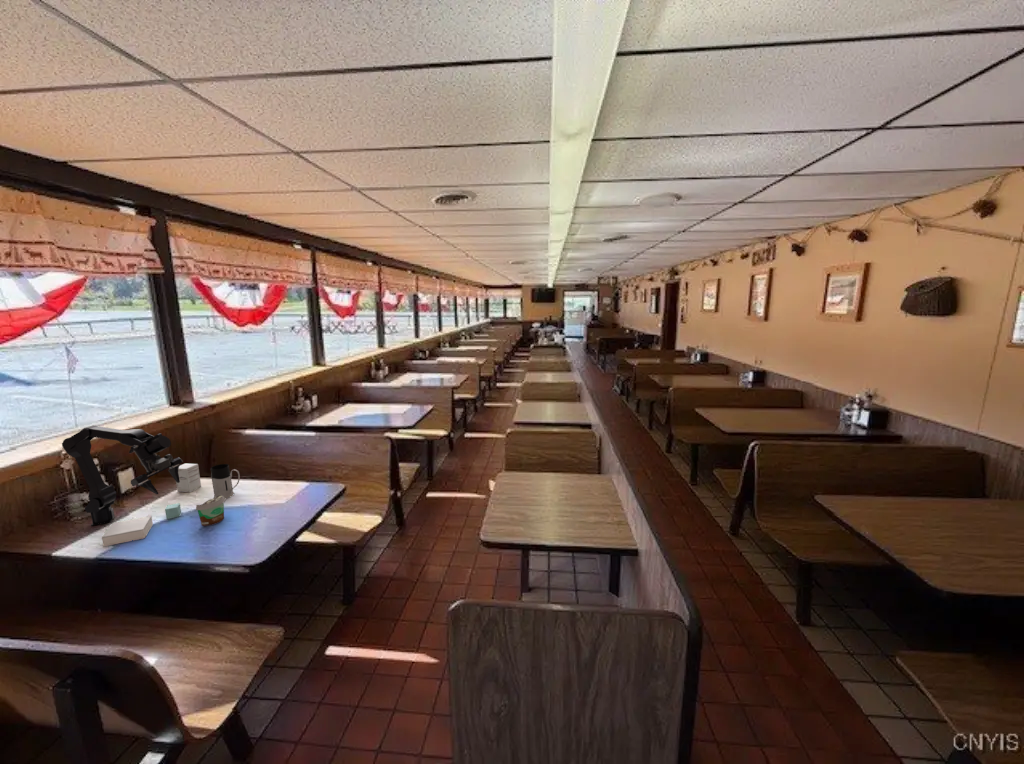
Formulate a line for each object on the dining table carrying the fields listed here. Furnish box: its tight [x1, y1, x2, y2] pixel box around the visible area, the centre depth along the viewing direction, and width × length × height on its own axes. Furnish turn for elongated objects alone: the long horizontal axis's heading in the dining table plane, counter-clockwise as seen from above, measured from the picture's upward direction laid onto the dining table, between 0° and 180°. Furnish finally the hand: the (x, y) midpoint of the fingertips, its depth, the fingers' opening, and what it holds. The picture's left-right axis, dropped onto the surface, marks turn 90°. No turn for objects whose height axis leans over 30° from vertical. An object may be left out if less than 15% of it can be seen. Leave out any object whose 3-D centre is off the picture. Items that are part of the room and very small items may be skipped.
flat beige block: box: [101, 515, 154, 547], centre depth 187 cm, size 13×13×4 cm
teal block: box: [164, 502, 182, 520], centre depth 203 cm, size 5×5×5 cm
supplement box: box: [175, 463, 202, 493], centre depth 231 cm, size 7×7×13 cm
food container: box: [195, 494, 226, 527], centre depth 196 cm, size 12×6×10 cm, turn 168°
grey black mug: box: [210, 463, 241, 499], centre depth 221 cm, size 9×14×15 cm, turn 82°
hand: (168, 488), depth 197 cm, fingers open, 9 cm apart
